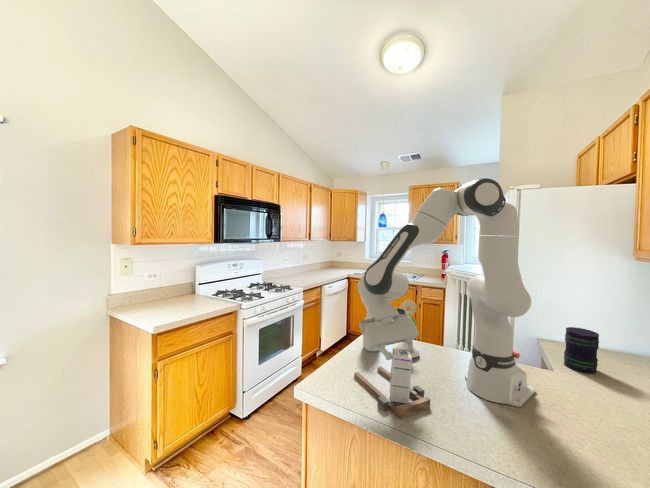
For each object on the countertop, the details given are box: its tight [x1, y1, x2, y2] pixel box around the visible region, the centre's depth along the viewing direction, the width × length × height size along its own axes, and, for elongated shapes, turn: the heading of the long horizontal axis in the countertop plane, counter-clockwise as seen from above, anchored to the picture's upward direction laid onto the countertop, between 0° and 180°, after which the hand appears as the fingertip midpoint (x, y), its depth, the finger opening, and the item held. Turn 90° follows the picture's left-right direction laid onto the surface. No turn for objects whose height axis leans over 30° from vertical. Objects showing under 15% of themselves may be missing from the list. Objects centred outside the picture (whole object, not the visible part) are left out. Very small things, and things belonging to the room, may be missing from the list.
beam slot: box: [354, 365, 431, 420], centre depth 91 cm, size 16×24×2 cm, turn 26°
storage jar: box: [563, 326, 600, 375], centre depth 109 cm, size 10×10×15 cm
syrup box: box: [389, 348, 413, 404], centre depth 86 cm, size 6×6×14 cm
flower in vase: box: [392, 299, 420, 359], centre depth 117 cm, size 13×11×25 cm
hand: (401, 356), depth 86 cm, fingers closed on syrup box, 8 cm apart
